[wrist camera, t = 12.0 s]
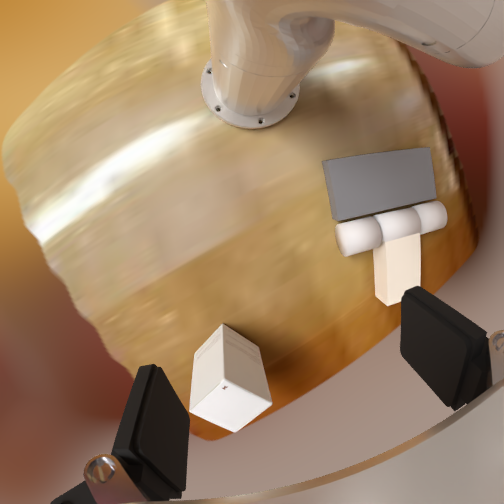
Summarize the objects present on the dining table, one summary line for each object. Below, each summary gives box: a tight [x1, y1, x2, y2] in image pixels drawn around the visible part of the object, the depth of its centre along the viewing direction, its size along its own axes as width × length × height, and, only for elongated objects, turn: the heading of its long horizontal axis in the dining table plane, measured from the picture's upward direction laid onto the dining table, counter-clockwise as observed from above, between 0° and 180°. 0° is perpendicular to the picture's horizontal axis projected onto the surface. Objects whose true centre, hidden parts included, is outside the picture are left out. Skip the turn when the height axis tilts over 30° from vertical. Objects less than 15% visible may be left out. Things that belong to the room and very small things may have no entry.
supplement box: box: [189, 324, 273, 432], centre depth 35 cm, size 7×7×13 cm
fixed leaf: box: [322, 147, 447, 257], centre depth 35 cm, size 13×18×4 cm
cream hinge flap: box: [373, 207, 421, 306], centre depth 38 cm, size 13×6×4 cm, turn 12°
